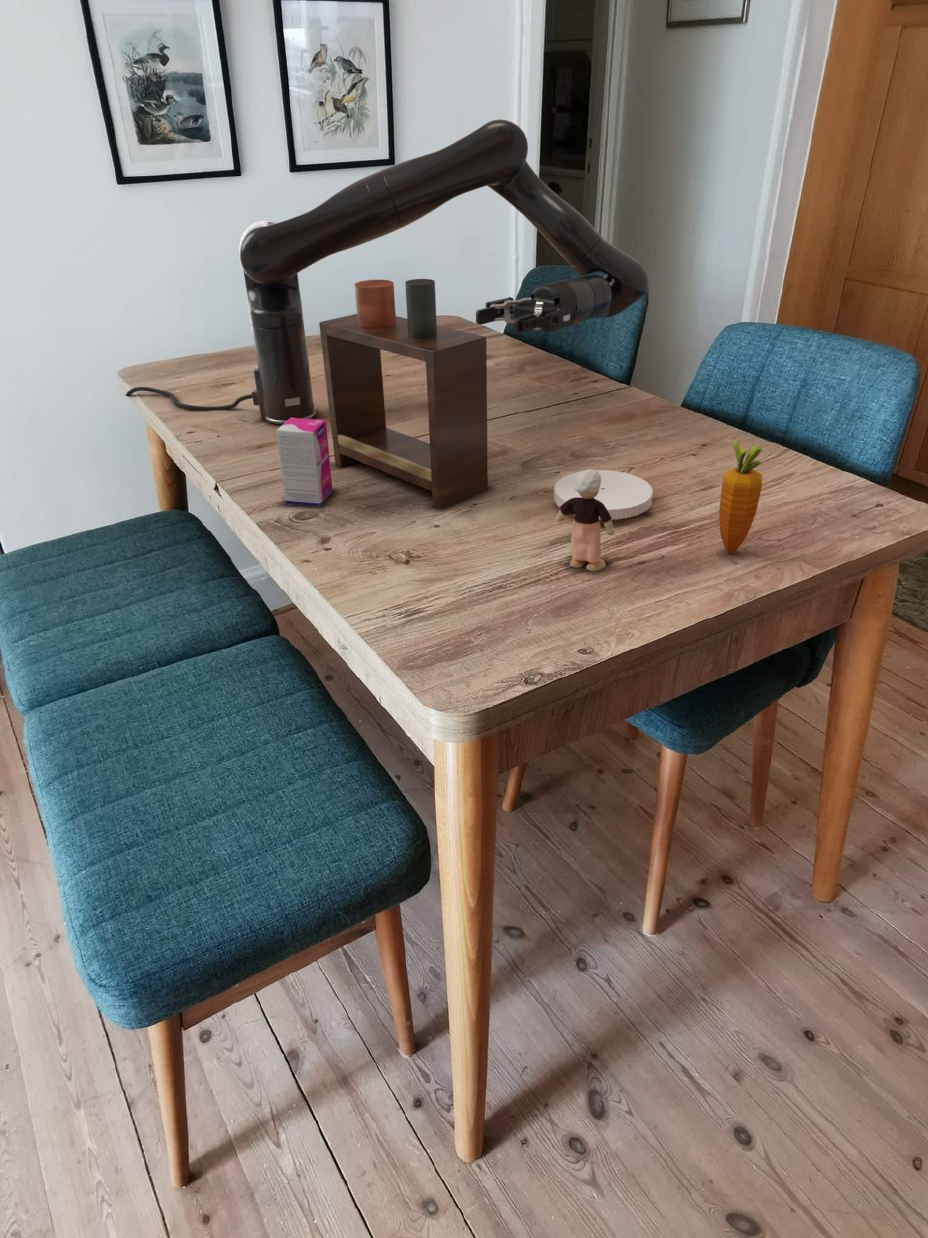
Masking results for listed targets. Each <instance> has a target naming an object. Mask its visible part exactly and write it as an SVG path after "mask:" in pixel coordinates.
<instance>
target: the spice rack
mask: <svg viewBox="0 0 928 1238" xmlns="http://www.w3.org/2000/svg"><path fill="white" fill-rule="evenodd" d="M404 285H405V301H406V318H405V317H402V316H397V314H396V298H395V283H394V281H392V280H388V279H367V280H360V281H357V282H355V283H354V294H355V295H354V296H355V306H356V307H355V308H356V313H354V314H349V315H345V316H340V317H336V318H332V319H328V320H323V321H319V322H318V324H319V335H320V343H321V351H322V361H323V367H324V369H323V370H324V376H325V377H324V378H325V386H326V394H327V395H326V396H327V402H328V403H327V404H328V413H329V421H330V428H331V429H330V430H331V438H332V449H333V456H334V465H335V466H337V467H339V468H343V467H345V466H349V465H351V464H354V463H356V462H360V463H362V464H365V465H368V466H369V467H372V468H374V469H377V470H380V471H382V472H384V473H386V474H389V475H392V476H393V477H396V478H399V479H402V480H404V481H407V482H409V483H411V484H414V485H416V486H419V487H421V488H424V489H426V490H429V491H431V495H432V496H431V497H432V498H431V499H432V507H433V508H436V509H438V510H443V509H445V508H446V507H449V506H452V505H453V504H455V503H458V502H461V501H462V500H465V499H467V498H470V497H472V496H474V495H477V494H479V493H481V492H484V491H486V490H488V489H489V476H488V475H489V471H488V470H489V469H488V468H489V465H488V463H489V460H488V368H487V367H488V366H487V365H488V363H487V359H488V358H487V355H488V354H487V336H485V335H480V334H475V333H472V332H467V331H462V330H458V329H453V328H449V327H445V326H441V325H438V323H437V299H436V298H437V297H436V281H435V280H434V279H430V278H414V279H409V280H406V281H405V282H404ZM381 350H382V351H385V352H388V353H393V354H396V355H399V356H404V357H407V358H411V359H414V360H418V361H422V362H425V373H426V392H427V393H426V395H427V413H428V433H429V434H428V435H429V436H428V437H429V442H427V441H424V440H421V439H419V438H416V437H413V436H410V435H407V434H404V433H402V432H399V431H397V430H394V429H390V428H388V427H387V420H386V419H387V417H386V406H385V393H384V392H385V391H384V379H383V368H382V367H383V366H382V356H381V355H382V354H381Z"/></svg>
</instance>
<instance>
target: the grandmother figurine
mask: <svg viewBox="0 0 928 1238" xmlns="http://www.w3.org/2000/svg"><path fill="white" fill-rule="evenodd" d="M594 470H595V469H591V468H590V469H585V470H582V471H583V472H582V473H580V474H579V476H578V477H577V478H576V479H575V482H574V485H573V486H572V487H573V488H574V490H575V491H576V492H579V495H580V496H581V497H582V498H580V497H575V498H571V499H569V500H568V501H566V502H565V503H564V504H563V505H561V506H560V507H559V511H558V513H557V515H556V516H555V520H556V521H557V522H558V523H563V522H564V520H565V517H567V516H572V515H573V514H575V515H574V518H573V520H572V526H571V538H570V541H571V543H570V545H571V560H570V562H569V566H570V567H572V568H575V569H577V568H579V569H580V568H582V567H583V566H584V565H585V564H586V563H587V565H586V567H585V568H586V570H588V571H590V572H597V571H600V570H602V569H605V567H606V562H605V560H604V559H603V558H601V554H602V553H601V552H602V549H601V542H602V541H601V540H602V539H601V537H602V535H601V533H602V532H601V531H602V530H601V523H600V520H601V522H602V524H603V526H604V528H605V529H606V530H605V532H606V534H607V535H608V536H613V535H615V532H616V530H615V528H614V523H613V520H612V517H611V516H610V514H609V512H608V510H607V508H606V507H605V505H604V504H603V503H602V502H600V501H598V500H596V499H594V497H596V495H597V494H598V492H599V488H600V486H601V485H600V483H601V476H600V474H599V473H598V472H597V471H594ZM599 517H600V520H599Z"/></svg>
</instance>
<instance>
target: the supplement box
mask: <svg viewBox="0 0 928 1238" xmlns="http://www.w3.org/2000/svg"><path fill="white" fill-rule="evenodd" d="M327 428H328V427H327V420H326V419H315V418H312V419H301V418H290V419H289V420H288V421H287V422H285V423H284V424H283V425H281V426H279V427H278V428H277V429H276V430H275V432H276V442H277V448H278V457H279V458H278V459H279V466H280V474H281V481H282V489H283V497H284V504H285V505H291V506H307V507H321V506H322V504H323V503H324V502H325V500H326V499H327V498H328V497H329V496H330V495H331V494H332V493H333V482H332V471H331V461H330V460H331V459H330V447H329V438H328V429H327Z"/></svg>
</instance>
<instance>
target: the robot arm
mask: <svg viewBox="0 0 928 1238" xmlns="http://www.w3.org/2000/svg"><path fill="white" fill-rule="evenodd" d="M528 153H529V144H528V139H527V135H526V133H525V132H524V131H523V129H522V128H521V127H520V126H519V125H518V124H516V123H514V122H513V121H510V120H507V119H503V118H502V119H501V118H500V119H499V118H498V119H493V120H490V121H487V122H485V123H484V124H483V125H482V126H480V127H478V128H477V129H475V130H473V131H472V132H470V133H469V134H467V135H465V136H464V137H462V138H460V139H458V140H456V141H454V142H453V143H451V144H449V145H447V146H445V147H443V148H442V149H439V150H437V151H434V152H431V153H427V154H424V155H421V156H417V157H413V158H410V159H407V160H405V161H402V162H399V163H396V164H394V165H391V166H389V167H386V168H383V169H380V170H378V171H376V172H374V173H372V174H370V175H366V176H365V177H363V178H360V179H358V180H356V181H354V182H353V183H351V184H349V185H347V186H346V187H344V188H342V189H341V190H339V191H337V192H336V193H334V194H333V195H332V196H330V197H329V198H327V199H326V200H324V201H323V202H322V203H320V204H319V205H318V206H316V207H314V208H312V209H311V210H309V211H307V212H304V213H301V214H300V215H297V216H295V217H291V218H288V219H286V220H282V221H279V222H273V221H270V220H269V221H268V220H260V221H257V222H254V223H252V224H251V225H249V226H248V227H247V228H246V229H245V230H244V231H243V233H242V235H241V238H240V242H239V249H238V258H239V262H240V266H241V267H242V273H243V278H244V285H245V291H246V301H247V308H248V315H249V321H250V328H251V333H252V340H253V341H252V342H253V346H254V353H255V359H256V365H257V366H256V367H254V368H253V377H254V382H255V389H254V390H253V391H252V392H251V394H246V395H242V396H240V397H238V398H236V399H235V401H234V402H232V403H230V404H226V405H220V406H219V405H218V406H201V405H192V404H186V403H181V402H179V401H178V400H177V398H176V396H175V394H174V393H172V392H170V391H167V390H162V389H157V388H153V387H147V386H136V387H133V388H131V389H130V390H128V391H127V392H126V393H125V395H124V396H125V397H130V396H131V395H133V394H134V393H136V392H151V393H155V394H159V395H164V396H167V397H170V398H171V402H172V403H173V404H174V406H176V407H178V408H181V409H185V410H186V409H187V410H192V411H222V410H223V411H225V410H230V409H234V408H236V407H237V406H238V405H239V404H240V403H241V402H243V401H246V400H251V399H252V403H253V406H258V408H259V415H260V420H261V421H266V422H268V423H270V424H273V425H281V426H282V425H283V424H284V423H285V422H287V421H288V420H289V419H290V418H301V419H315V417H316V416H317V414H316V408H315V401H314V395H313V385H312V377H311V370H310V369H311V368H310V361H309V353H308V345H307V337H306V329H305V321H304V313H303V304H302V303H303V302H302V298H301V297H302V296H301V290H300V284H299V273H300V272H302V271H303V270H305V269H307V268H309V267H310V266H312V265H313V264H316V263H317V262H319V261H321V260H324V259H326V258H327V257H330V256H332V255H335V254H337V253H340V252H344V251H347V250H350V249H352V248H356V247H358V246H360V245H361V246H362V245H364V244H367V243H370V242H372V241H374V240H376V239H379V238H382V237H385V236H388V235H389V234H391V233H394V232H396V231H398V230H401V229H403V228H404V227H407V226H409V225H411V224H413V223H414V222H416V221H419V220H420V219H423V217H425V216H427V215H428V214H430V213H432V212H433V211H435V210H437V209H438V208H440V207H441V206H443V205H444V204H446V203H447V202H450V201H451V200H452V199H455V198H457V197H458V196H462V195H464V194H466V193H469V192H472V191H475V190H477V189H481V188H484V187H488V188H490V189H491V190H492V191H493V192H495V193H496V194H497V195H499V196H500V197H501V198H503V199H505V200H506V202H508V203H509V204H510V205H511V206H513V208H515V209H516V210H517V211H518V212H519V213H520V214H521V215H523V216H524V217H525V218H526V220H527V221H528V222H530V224H531V225H532V226H533V227H534V228H535V229H536V230H537V231H538V232H539V233H540V234H541V235H542V236H543V238H545V240H546V241H548V243H549V244H550V245H551V246H552V247H553V249H555V251H557V253H558V254H559V255H560V256H561V257H562V258H563V259H564V260H565V261H566V262H567V263H568V264H569V265H570V266H571V267H572V269H573V270H574V271H575V272H576V273H578V275H580V276H581V277H577V278H565V279H562V280H557V281H554V282H550V283H545V284H541V285H538V286H537V287H536V288H535V289H534V290H533V291H532V292H531V294H530V296H529V297H522V298H520V299H514V297H511V296H508V297H506V298H500V299H495V300H492V301H491V300H490V301H487V302H485V308H480V309H477V310H476V311H475V323H476V325H480V326H481V325H486V324H490V323H492V322H502V321H504V322H505V323H506V324H514V326H513V327H514V330H513V331H514V332H515V333H516V334H522V333H527V332H528V331H532V330H533V331H536V332H537V331H542V332H545V333H551V332H555V331H558V330H562V329H565V328H568V327H572V326H575V325H578V324H579V323H582V322H583V321H586V320H591V319H595V318H603V319H608V318H612V317H616V316H617V315H619V314H621V313H623V312H624V311H625V310H627V309H628V308H630V307H631V306H632V305H634V304H635V303H637V302H638V301H640V300H641V299H642V298H643V297H645V295H646V294H648V292H649V290H650V285H651V284H650V283H651V282H650V277H649V273H648V272H647V270H646V268H645V266H644V265H642V263H641V262H639V261H638V260H637V259H636V258H634V257H633V256H631V255H630V254H629V253H628V254H627V253H626V252H625V251H623V250H621V249H619V248H618V247H617V246H615V245H613V244H611V243H610V242H608V241H607V240H606V239H605V238H604V237H603V236H602V235H601V234H600V233H599V232H598V230H597V229H596V228H595V227H594V225H592V223H590V222H589V221H588V219H586V217H584V215H583V214H581V213H580V212H579V211H578V210H577V209H576V208H574V206H572V205H571V204H569V203H568V202H567V201H566V200H564V199H563V198H562V197H560V195H558V194H557V193H556V192H554V191H553V190H552V189H551V188H550V187H549V186H548V185H547V184H546V183H544V181H543V180H542V179H541V178H540V177H539V176H538V175H537V174H536V173H535V171H534V170H533V169H532V167H531V166H530V165H529V163H528V161H527V158H528ZM598 272H600V273H603V274H605V275H604V276H601V275H598V274H594V273H598ZM511 315H513V318H511Z"/></svg>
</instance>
